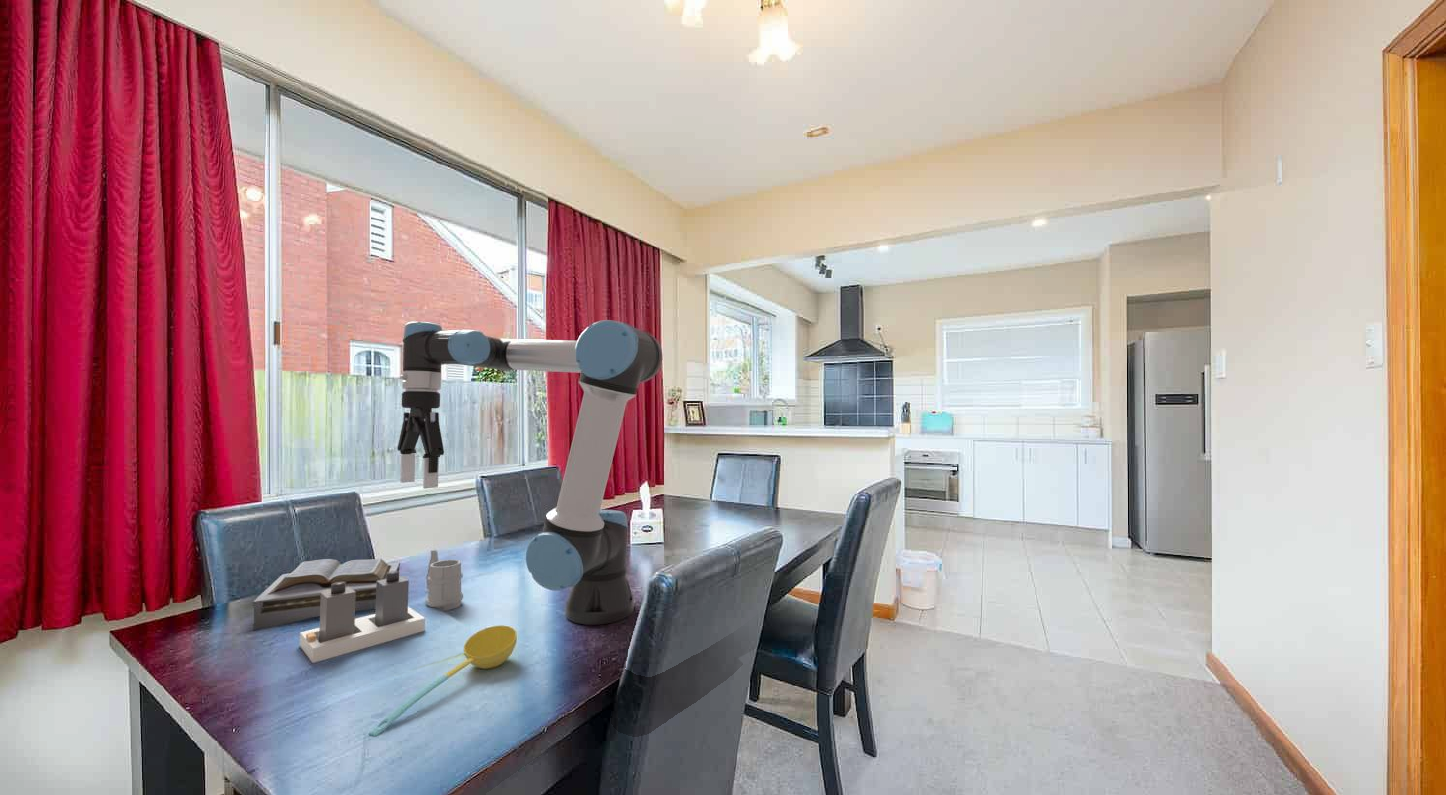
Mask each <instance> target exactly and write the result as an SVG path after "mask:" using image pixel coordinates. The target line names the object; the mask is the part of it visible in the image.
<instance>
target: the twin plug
mask: <svg viewBox="0 0 1446 795" xmlns="http://www.w3.org/2000/svg"><path fill="white" fill-rule="evenodd" d="M355 595H356V592H355V591H354V590H353V589H351V588H350V587H346V582H336V583H333V584H331V590H330V591H325V592H321V601H320V616H319V627H318V628H319V643H322V642H326V641H330V640H333V639H337V638H341V637H344V636H348V635H352V634H354V624H355V619H356V611H355Z"/></svg>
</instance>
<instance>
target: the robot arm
mask: <svg viewBox="0 0 1446 795" xmlns="http://www.w3.org/2000/svg"><path fill="white" fill-rule="evenodd" d="M403 332H404V333H403V339H402V343H403V344H402V346H403V347H402V351H403V352H402V374H401V375H400V376H399V378H400V380H402V389H403V390H405V391H402V393H401V407H402V408H403V409H409V411H404V412H403V419H402V426H401V430H400V435H399V438H398V439H399V440H398V445H397V451H399V453H400V456H401V457H400V481H399V482H400V483H403V484H405V483H413V482H414V483H415V480H416V479H415V476H416V454H417V450H416V447H417V444H418V440H419V438H420V439H421V443H422V446H423V450H424V454H423V455H422V459H423V478H422V479H423V484H422V488H423V489H424V490H425V489H434V488H436V489H437V488H439V464H440V461H439V460H440V457H441V456H443V455H444V454H445V449H444V444H443V438H442V432H441V427H440V419H439V418H440V414H439V412H438V411H437V412H436V411H435V412H432V409H439V408H440V407H441V394H440V392H439V391H440V390H441V389H442V366H443V365H461V366H469V367H478V368H482V369H483V368H486V369H493V370H498V371H504V372H509V371H534V372H535V371H536V372H539V371H540V372H555V373H559V372H560V373H576V374H577V373H578V374H579V373H580V376H579V378H578V384H579V385H580V387H581V389H582V390H583V396H582V399H581V404H580V408H579V412H578V415H577V422H576V425H575V428H574V429H575V430H574V433H573V437H572V442H571V446H570V450H569V453H568V459H567V462H566V467H565V471H564V475H563V478H562V483H561V488H560V490H559V494H558V495H559V496H558V500H557V504H556V506H555V507H554V508H552V509H551V510H549V511H548V512H547V513H546V515H545V520H544V524H543V528H542V531H541V532H540V533H538V534H537V535H536V536H534V537H533V538H532V539H531V540H530V542H529V543H528V545H527V547H526V552H525V563H526V568H527V570H528V573H530V574H531V577H532V579H533V580H534V581H535V582H536V583H537V584H538V585H539V586H541V587H542V588H544V589H547V590H549V591H563V590H565V589H568V588H570V591H569V594H568V597H567V600H566V602H565V609H564V610H565V613H564V615H565V617H566V619H567V620H569V621H571V622H573V623H576V624H579V625H581V624H582V625H591V626H592V625H593V626H594V625H605V624H611V623H616V622H618V621H621V620H624V619H626V618H628V617H630V615H632V613H634V607H635V606H634V604H635V603H634V602H635V601H634V597H633V594H632V589H631V587H630V583H629V580H628V577H627V567H628V566H627V565H628V564H627V562H628V530H629V526H628V516H627V514H626V513H625V512H624V511H621V510H614V509H612V510H611V509H601V507H602V504H603V500H604V496H605V493H606V488H607V484H608V480H609V476H610V471H611V467H612V462H613V458H614V456H615V451H616V447H617V444H618V443H617V442H618V439H619V435H620V431H621V427H622V423H623V419H624V415H625V410H626V406H627V403H628V401H630V400H632V399H633V398H635V397H637V393H638V391H639V390H638V389H639V385H640V383H645V382H648V381H649V380H651V379H653V378H654V377H655V376H656V375H657V373H659V371H660V369H661V366H662V363H663V350H662V347H661V345H660V343H659V341H658V340H657V339H656V338H655V337H654V336H653V335H652V334H650V333H649V332H647V331H645V330H642V329H639V328H637V327H634V326H632V325H630V324H628V323H625V322H622V321H616V320H610V319H604V320H599V321H596V322H594V323H592V324H591V325H589V326H587V327H586V328H585V329H584V330H583V331H582V332H581V333H580V335H579V336H578V339H577V340H570V339H569V340H563V339H559V340H558V339H521V338H520V339H518V338H515V339H514V338H499V337H492V336H487V335H485V334H484V333H483V332H482V331H481V330H475V329H474V330H473V329H467V328H466V329H459V330H444V331H443V327H442V325H440V324H438V323H435V322H429V321H409V322H407V323H406V324H405V326H404V331H403Z"/></svg>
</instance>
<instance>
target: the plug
mask: <svg viewBox="0 0 1446 795" xmlns="http://www.w3.org/2000/svg"><path fill="white" fill-rule="evenodd" d="M409 581H410V580H409V579H407V578H406V577H404V576H402V575H400V570H399V571H391V572H388V573H386V579H383V580H378V581H376V609H375V612H374V614H375V625H376V626H377V627H382V626H386V625H389V624H393V623H397V622H400V621H404V620H407V619H408V607H409V583H410V582H409Z"/></svg>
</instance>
